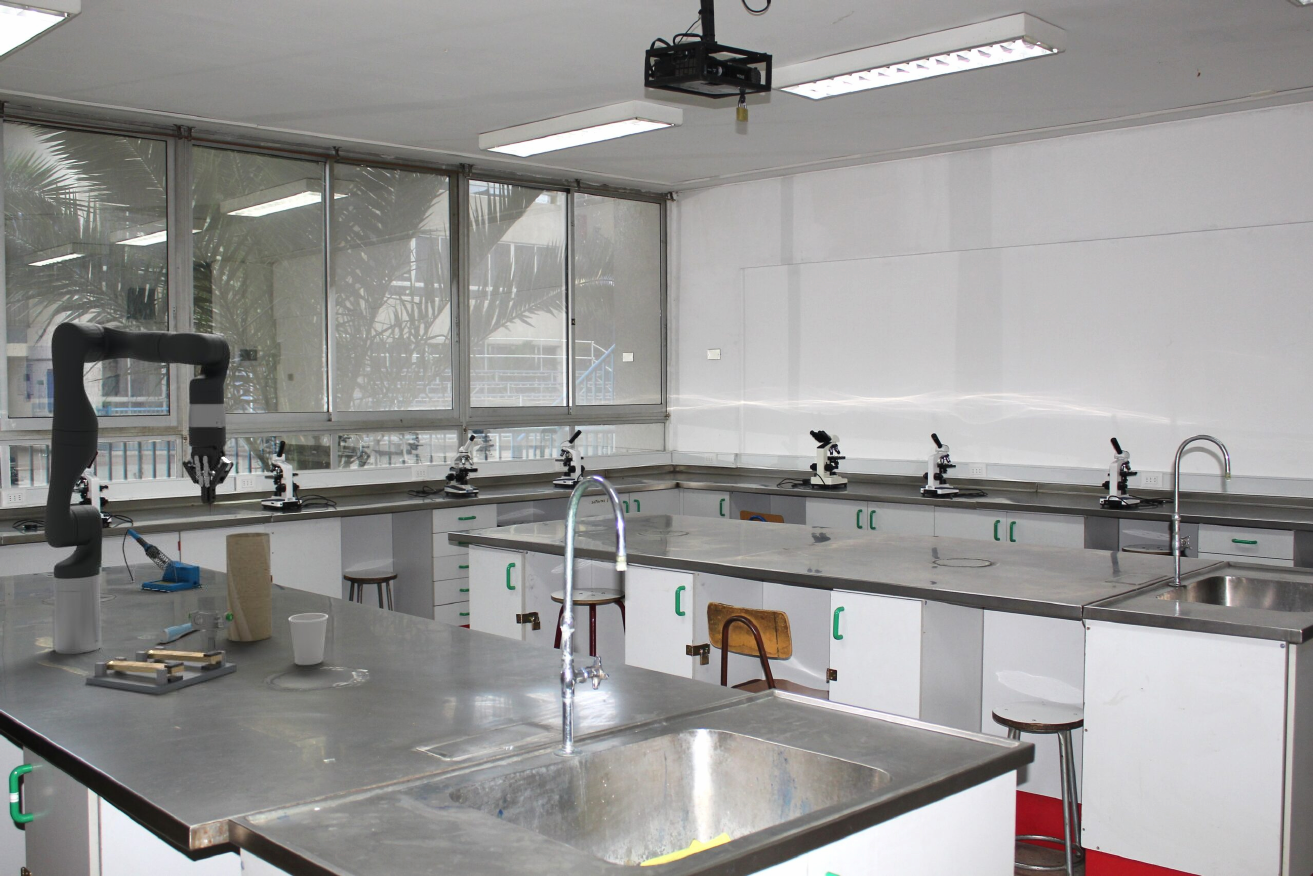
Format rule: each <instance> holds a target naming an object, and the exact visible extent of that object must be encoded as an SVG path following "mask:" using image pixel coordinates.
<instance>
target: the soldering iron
mask: <svg viewBox="0 0 1313 876" xmlns="http://www.w3.org/2000/svg"><path fill="white" fill-rule="evenodd" d="M127 535H130V536H131V538H132V539H134V540H135V541H136V543H138V545H140V546H141V548H142V549H143V551H144V552H145V556H146V557H147V558H149V559H150V560H151V561H152V562H153V563H154V564H155V565H156V566H157V567H158V568H159V569H160V570H162V571H163V575H162V578H161V579H156V580H152V581H146V582H143V583H141V584H142V585H140V586H141V588H142V589H143V588H150V589H158V590H165V591H174V592H178V591H177V590H179V591H184V590H189V588H190V589H193V588H194V587H195V588H200V589H202V585H200V584H201V581H200V579H201V575H200V574H201V573H200V572H201V571H200V569H201V568H200V566H199V565H191V564H190V565H189V564H184V563H182V562H181V561H179V560H172V559H171V558H169V556H167V555H166V554H165V553H164V552H162V550H161V549H159V548H158V546H156V545H154V544H151V543H148V542H147V540H145V539H144V538H143V537H142V536H140V535H139V534H138V532H137V533H136V532H135V531H134V529H131V528H130V529H129V528H128V529H127V530H126V532H125V533H124V537H123V541H122V554H123V558H124V562H125V565H126V568H127V570H128V573H129V576H130V578H131V581H134V578H133V575H132V573H131V570H130V568H129V564H128V563H127V557H126V555H125V546H124V545H125V542H126V537H127ZM165 565H166V566H165ZM199 586H200V587H199ZM183 589H184V590H183Z"/></svg>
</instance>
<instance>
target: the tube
mask: <svg viewBox="0 0 1313 876" xmlns="http://www.w3.org/2000/svg"><path fill="white" fill-rule="evenodd" d="M225 553H226V554H225V557H226V560H225V561H226V605H227V606H226V609H227V610H226V611H227V612H226V613H231V614H233V620H232V625H231V627H229V628H227V639H228V640H229V641H233V642H253V641H255V642H256V641H261V640H267V639H268V638H271V637H272V636H273V635H272V578H271V576H272V575H271V574H272V573H271V569H272V568H271V533H270V532H268V533H267V532H241V533H232V534H227V535H226V536H225Z"/></svg>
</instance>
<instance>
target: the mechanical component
mask: <svg viewBox="0 0 1313 876" xmlns="http://www.w3.org/2000/svg"><path fill="white" fill-rule="evenodd" d="M188 619H189V621H190V623H191V626H192V628H193V629H195V630H196V631H198V630H199V631H200V630H201V631H202V630H203V631H205V635H204V637H206V639H207V653H208V652H212V651H216V637H218V635H219V634H218V631H220V632H221V631H224V630H226V629H227V630H228V628H229V627H231V625H232V620H233V614H231V613H227V612H224V613H223V614H222V618H221V615H219V611H218V610H199V609H198V610H193V611H190V612H189V614H188ZM219 624H223V625H222V626H221V625H219Z"/></svg>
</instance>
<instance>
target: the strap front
mask: <svg viewBox="0 0 1313 876" xmlns="http://www.w3.org/2000/svg"><path fill="white" fill-rule="evenodd" d="M106 663H107V671H112V670H116V671H129V672H143V673H156V669H158V668H167V674H171V675H172V674H176V673H179V672H182V671H184V662H173V663H170V664H161V663H146V662H136V661H129V660H127V661H118V660H115V659H114V660H111V661H108V662H106Z"/></svg>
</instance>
